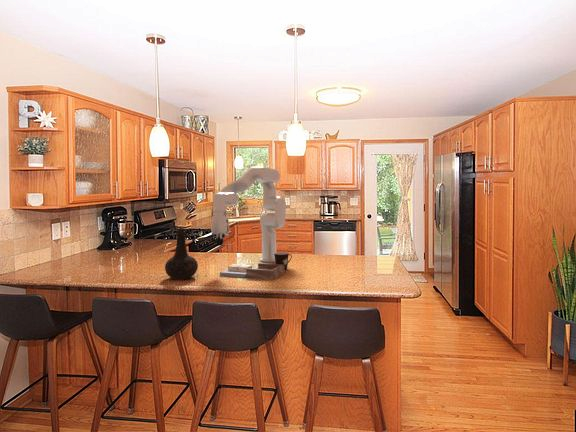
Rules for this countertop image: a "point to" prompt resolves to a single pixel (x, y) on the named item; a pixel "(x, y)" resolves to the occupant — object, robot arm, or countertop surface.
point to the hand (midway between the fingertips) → (220, 245)
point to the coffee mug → (282, 259)
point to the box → (265, 271)
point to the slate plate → (234, 273)
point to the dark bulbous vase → (181, 260)
